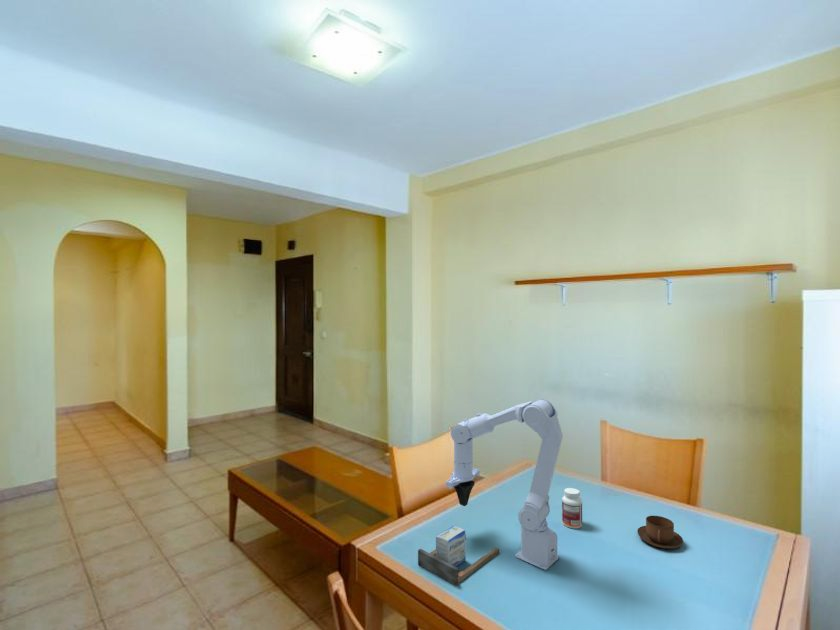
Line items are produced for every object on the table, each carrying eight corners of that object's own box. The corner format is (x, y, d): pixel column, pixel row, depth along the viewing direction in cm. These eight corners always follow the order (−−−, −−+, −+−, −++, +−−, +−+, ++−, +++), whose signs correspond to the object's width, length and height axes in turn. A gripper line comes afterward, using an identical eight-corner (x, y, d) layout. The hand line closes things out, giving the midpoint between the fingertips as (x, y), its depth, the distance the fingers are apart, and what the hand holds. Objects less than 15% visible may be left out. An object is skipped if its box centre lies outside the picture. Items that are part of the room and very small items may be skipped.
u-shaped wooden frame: (499, 552, 124) (499, 539, 124) (456, 585, 109) (455, 569, 109) (462, 536, 133) (462, 523, 133) (417, 564, 118) (417, 550, 118)
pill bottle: (568, 517, 144) (568, 485, 144) (586, 525, 140) (586, 491, 139) (558, 523, 140) (558, 490, 140) (575, 531, 136) (575, 496, 136)
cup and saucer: (689, 554, 123) (690, 533, 123) (644, 550, 125) (644, 529, 125) (674, 533, 134) (674, 513, 134) (632, 529, 137) (632, 510, 137)
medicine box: (448, 573, 114) (448, 541, 114) (435, 567, 117) (435, 535, 117) (466, 560, 120) (465, 529, 120) (453, 554, 123) (453, 524, 123)
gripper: (467, 452, 142) (467, 493, 142) (438, 464, 131) (438, 508, 131) (484, 457, 137) (485, 499, 137) (456, 469, 126) (456, 516, 126)
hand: (463, 504), depth 134 cm, fingers closed
